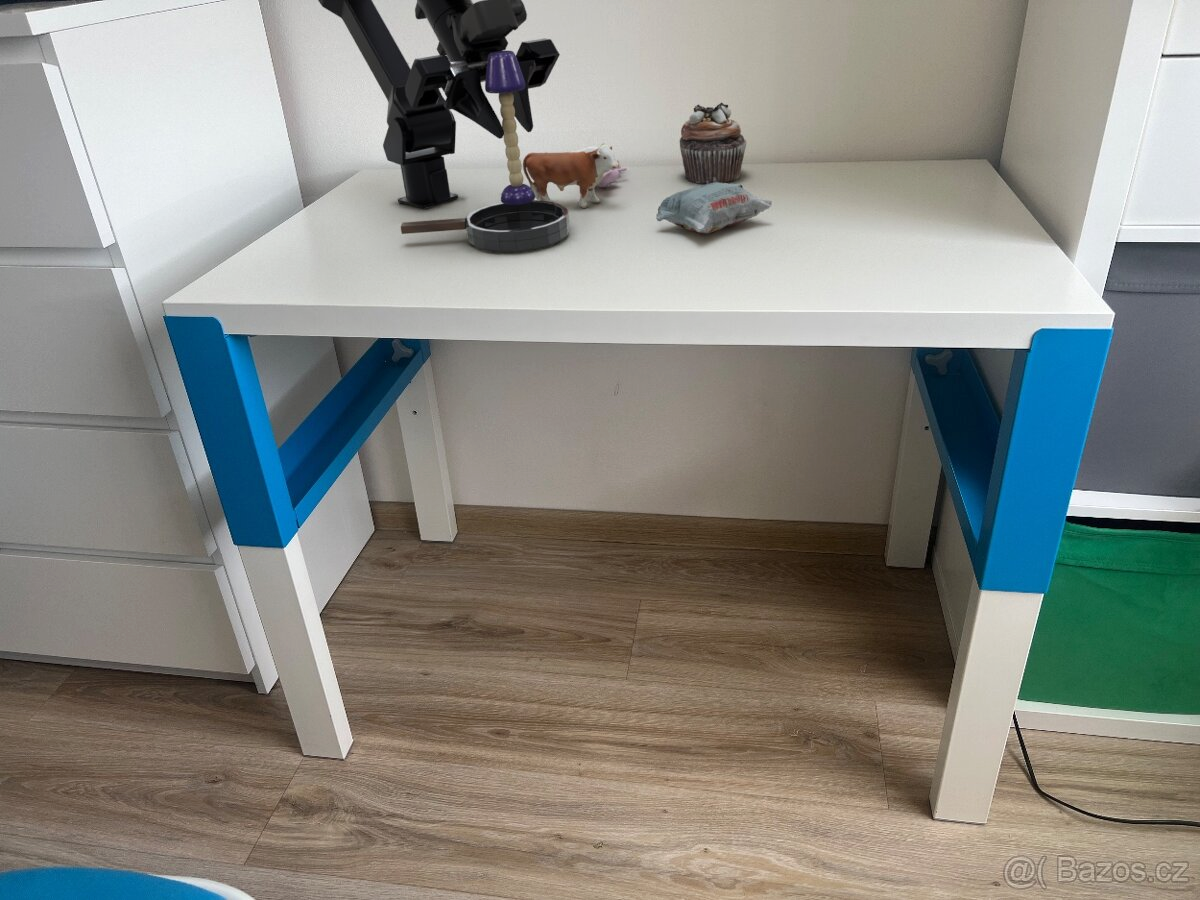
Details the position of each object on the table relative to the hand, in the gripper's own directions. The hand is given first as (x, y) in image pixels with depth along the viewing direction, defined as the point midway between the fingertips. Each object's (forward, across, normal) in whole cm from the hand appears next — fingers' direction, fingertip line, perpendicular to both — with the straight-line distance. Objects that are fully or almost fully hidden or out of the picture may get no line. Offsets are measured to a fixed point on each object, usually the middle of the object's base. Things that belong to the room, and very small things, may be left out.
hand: (516, 133), depth 102 cm
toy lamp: (+5, 0, +7) cm, 8 cm away
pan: (+8, 0, +10) cm, 13 cm away
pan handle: (+3, -9, +13) cm, 16 cm away
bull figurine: (+4, +13, +15) cm, 20 cm away
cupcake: (+7, +35, +12) cm, 38 cm away
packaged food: (+19, +19, 0) cm, 27 cm away
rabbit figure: (+1, +22, +18) cm, 28 cm away
